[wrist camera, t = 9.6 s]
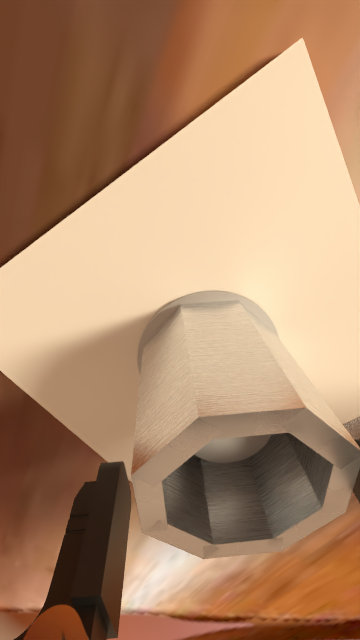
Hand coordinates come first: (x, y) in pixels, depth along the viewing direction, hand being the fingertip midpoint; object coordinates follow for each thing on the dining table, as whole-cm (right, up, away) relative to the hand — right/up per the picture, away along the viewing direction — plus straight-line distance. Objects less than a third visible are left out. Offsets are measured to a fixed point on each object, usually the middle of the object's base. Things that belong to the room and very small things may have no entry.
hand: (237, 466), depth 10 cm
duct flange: (-1, +4, +6) cm, 7 cm away
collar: (-1, +3, +4) cm, 5 cm away
